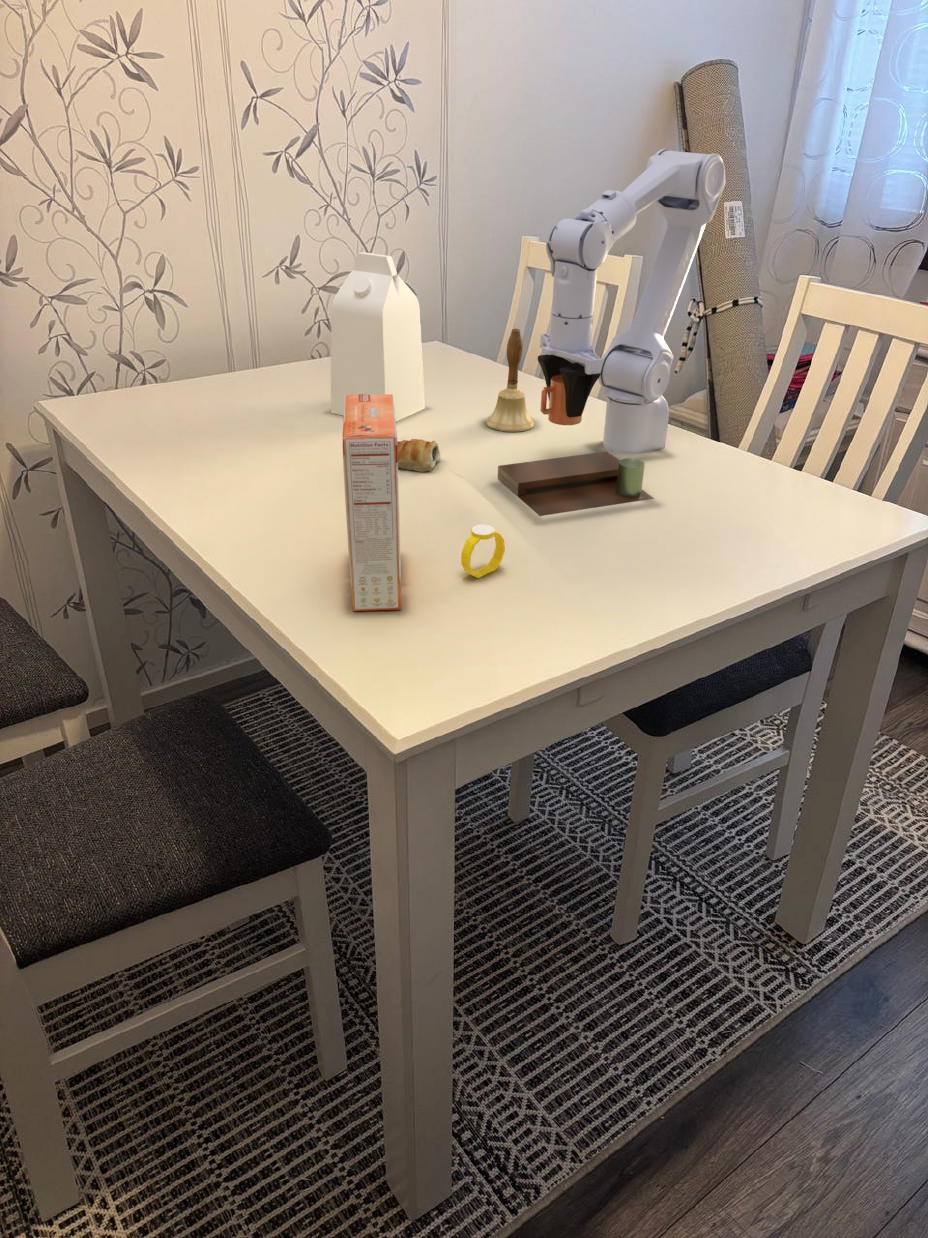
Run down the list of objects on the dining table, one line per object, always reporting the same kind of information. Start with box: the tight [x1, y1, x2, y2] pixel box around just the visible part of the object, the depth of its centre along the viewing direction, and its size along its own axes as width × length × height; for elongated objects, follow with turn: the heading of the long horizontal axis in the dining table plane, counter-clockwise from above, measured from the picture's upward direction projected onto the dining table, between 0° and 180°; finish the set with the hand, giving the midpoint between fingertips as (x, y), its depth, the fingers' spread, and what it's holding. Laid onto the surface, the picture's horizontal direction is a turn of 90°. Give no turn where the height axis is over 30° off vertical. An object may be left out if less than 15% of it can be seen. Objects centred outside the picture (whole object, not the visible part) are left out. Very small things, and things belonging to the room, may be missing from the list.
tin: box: [616, 457, 646, 497], centre depth 137 cm, size 4×4×4 cm
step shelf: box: [497, 451, 655, 517], centre depth 139 cm, size 18×14×3 cm
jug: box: [540, 375, 583, 426], centre depth 139 cm, size 7×5×6 cm
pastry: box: [397, 438, 441, 473], centre depth 148 cm, size 9×7×4 cm
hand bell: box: [485, 328, 535, 433], centre depth 161 cm, size 8×8×16 cm
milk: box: [330, 251, 426, 423], centre depth 164 cm, size 12×12×26 cm
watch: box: [460, 524, 506, 579], centre depth 116 cm, size 6×3×6 cm, turn 132°
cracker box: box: [342, 394, 403, 612], centre depth 110 cm, size 14×6×21 cm, turn 5°
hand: (565, 410), depth 140 cm, fingers closed on jug, 5 cm apart
